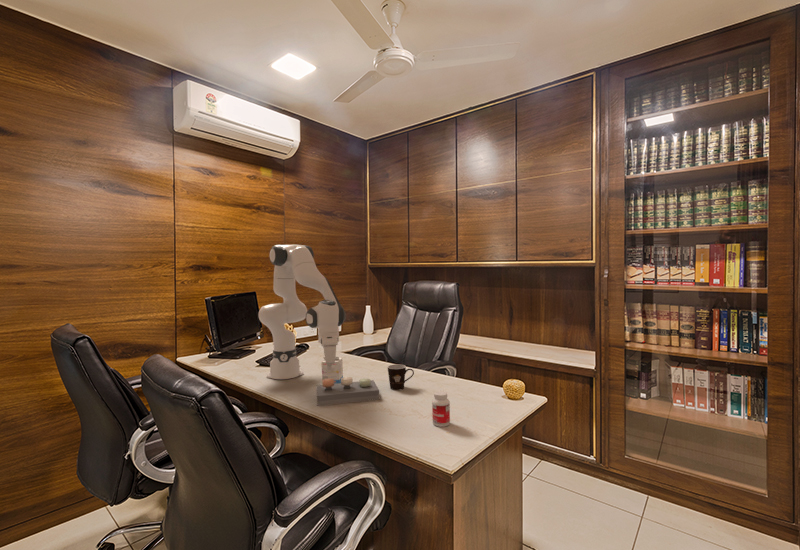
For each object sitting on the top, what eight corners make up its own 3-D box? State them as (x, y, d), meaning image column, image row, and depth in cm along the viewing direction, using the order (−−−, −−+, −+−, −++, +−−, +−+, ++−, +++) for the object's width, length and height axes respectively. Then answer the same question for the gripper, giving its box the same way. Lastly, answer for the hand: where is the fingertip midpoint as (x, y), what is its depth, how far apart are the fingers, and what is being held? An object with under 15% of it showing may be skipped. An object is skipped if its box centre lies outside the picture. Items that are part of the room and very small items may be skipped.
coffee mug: (384, 389, 171) (384, 368, 171) (392, 384, 179) (391, 363, 179) (408, 392, 167) (407, 370, 167) (414, 386, 175) (414, 365, 175)
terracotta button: (322, 389, 163) (322, 379, 163) (334, 388, 164) (333, 378, 164) (322, 392, 158) (322, 382, 158) (334, 391, 159) (334, 381, 159)
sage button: (358, 388, 167) (358, 379, 167) (369, 387, 168) (369, 378, 168) (360, 392, 162) (360, 382, 162) (371, 391, 163) (371, 381, 163)
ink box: (343, 380, 188) (342, 354, 187) (339, 385, 179) (338, 358, 179) (326, 380, 189) (326, 354, 188) (321, 385, 180) (321, 358, 180)
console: (316, 394, 168) (316, 385, 167) (373, 388, 173) (373, 380, 173) (317, 405, 153) (316, 396, 153) (379, 399, 159) (379, 390, 159)
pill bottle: (429, 424, 132) (428, 393, 132) (438, 418, 137) (438, 389, 137) (443, 428, 128) (443, 397, 128) (453, 423, 133) (452, 392, 133)
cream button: (340, 387, 165) (340, 377, 165) (352, 386, 166) (351, 376, 166) (341, 390, 160) (341, 380, 160) (353, 389, 161) (353, 379, 161)
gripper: (320, 334, 171) (321, 363, 171) (322, 342, 151) (322, 376, 151) (334, 333, 172) (335, 362, 172) (337, 341, 152) (338, 375, 153)
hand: (329, 369), depth 162 cm, fingers closed
